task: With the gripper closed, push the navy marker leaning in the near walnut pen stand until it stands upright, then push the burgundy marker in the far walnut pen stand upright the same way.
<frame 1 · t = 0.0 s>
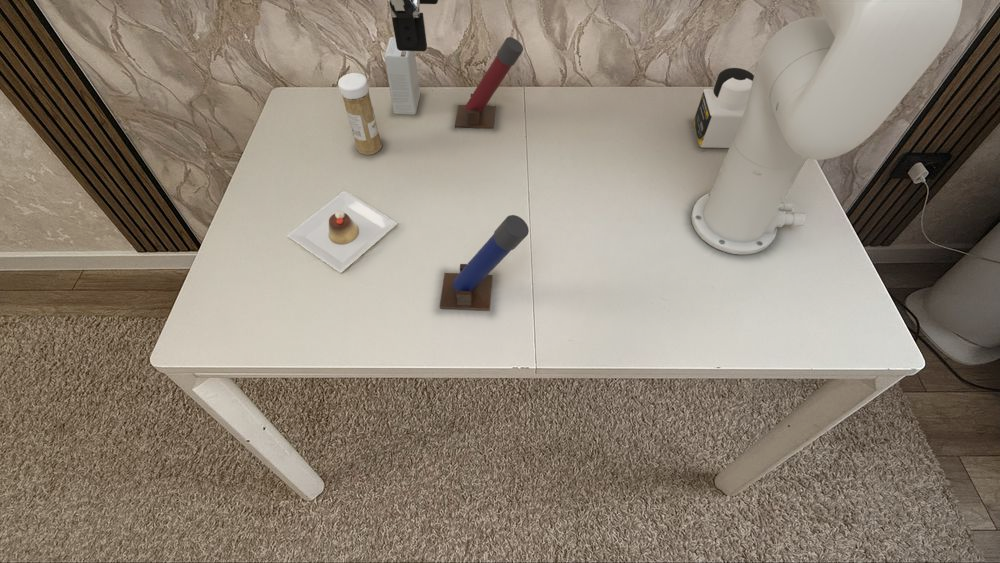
hand: (418, 25, 63), 31 cm above the table, tool pointing down, fingers open, 9 cm apart
stand far: (475, 117, 102), on the table
marker: (487, 258, 73), point 8 cm above the table, hinge at -30.0°
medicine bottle: (715, 136, 99), on the table
cosmetic box: (408, 106, 105), on the table
sprinkles bottle: (369, 148, 98), on the table
dessert: (344, 234, 86), on the table
stand near: (466, 292, 79), on the table
marker far: (492, 79, 96), point 8 cm above the table, hinge at -30.0°
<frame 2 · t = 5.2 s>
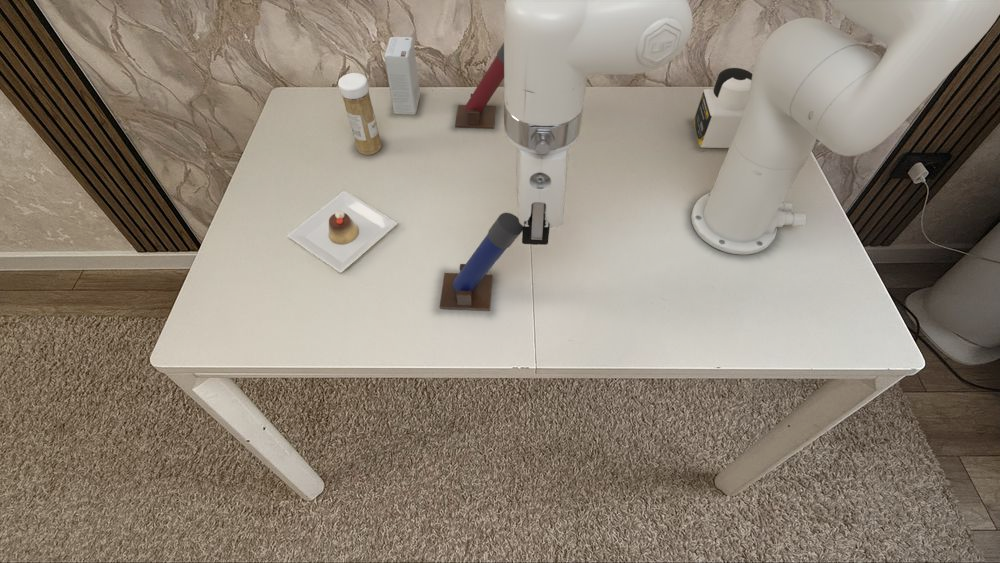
hand: (535, 239, 69), 12 cm above the table, tool pointing down, fingers closed
marker: (485, 257, 73), point 8 cm above the table, hinge at -26.3°, touching gripper
everything else where it was.
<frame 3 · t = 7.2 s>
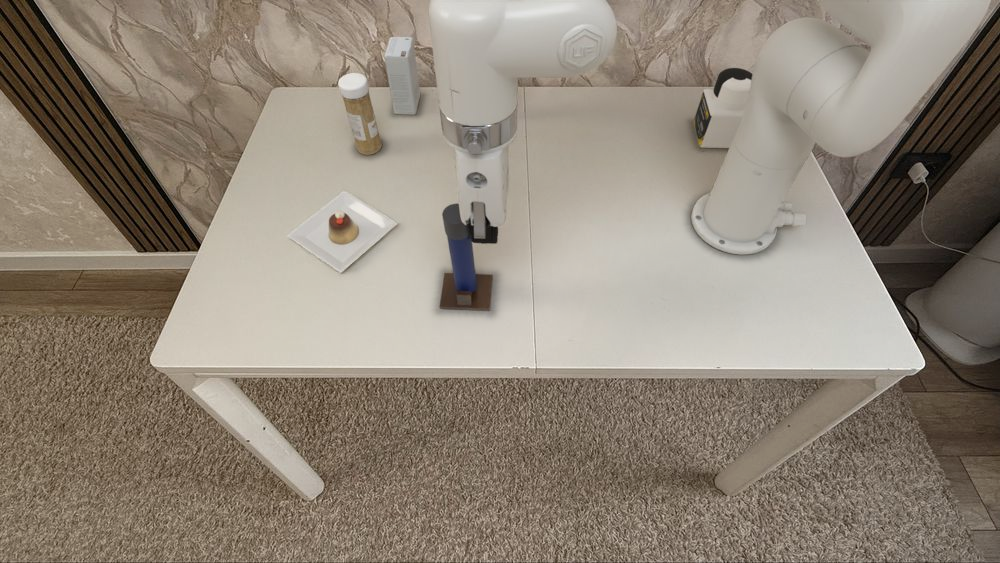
hand: (485, 238, 69), 12 cm above the table, tool pointing down, fingers closed
marker: (461, 252, 72), point 9 cm above the table, hinge at 1.2°
everything else where it was.
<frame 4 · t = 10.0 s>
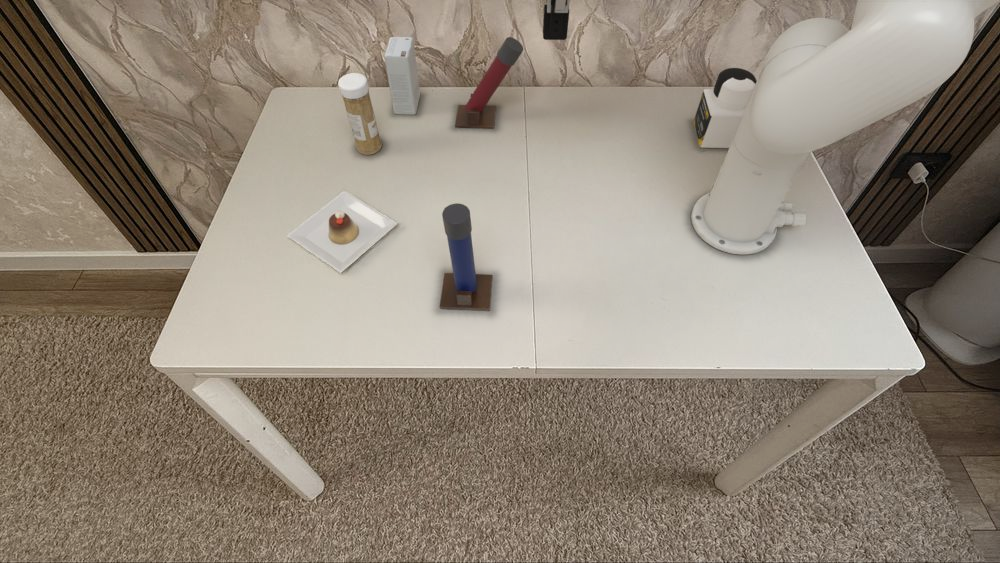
hand: (554, 36, 76), 23 cm above the table, tool pointing down, fingers closed
nothing on the table moved.
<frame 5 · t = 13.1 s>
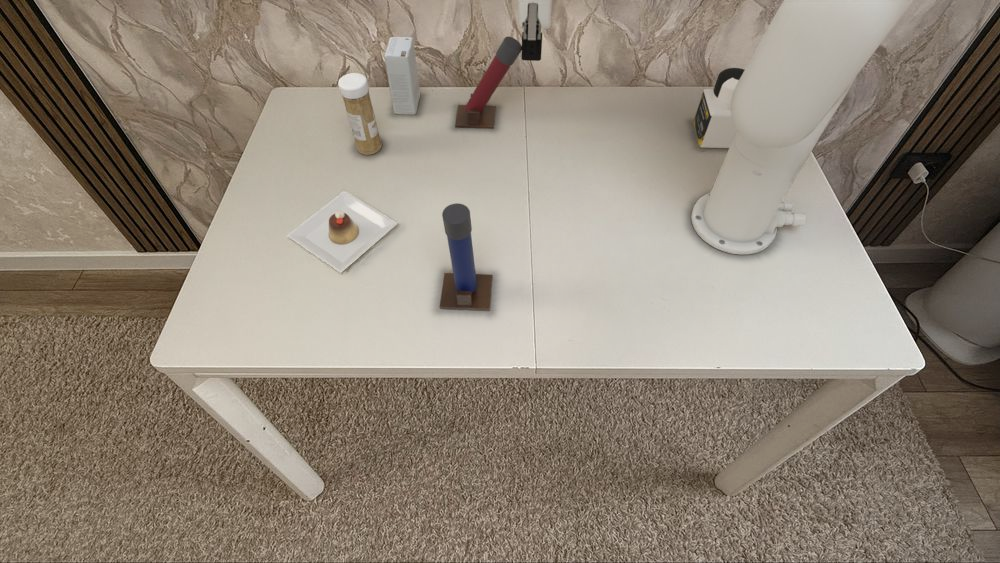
hand: (531, 57, 92), 12 cm above the table, tool pointing down, fingers closed
marker far: (491, 78, 95), point 8 cm above the table, hinge at -28.9°, touching gripper
everything else where it was.
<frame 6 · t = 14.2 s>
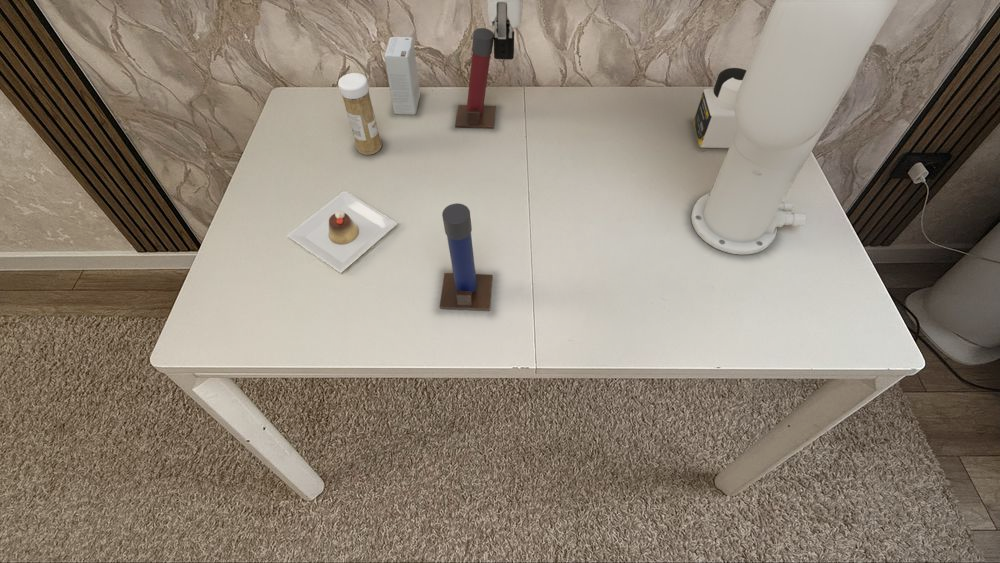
hand: (504, 56, 92), 12 cm above the table, tool pointing down, fingers closed
marker far: (479, 74, 95), point 9 cm above the table, hinge at -8.4°, touching gripper
everything else where it was.
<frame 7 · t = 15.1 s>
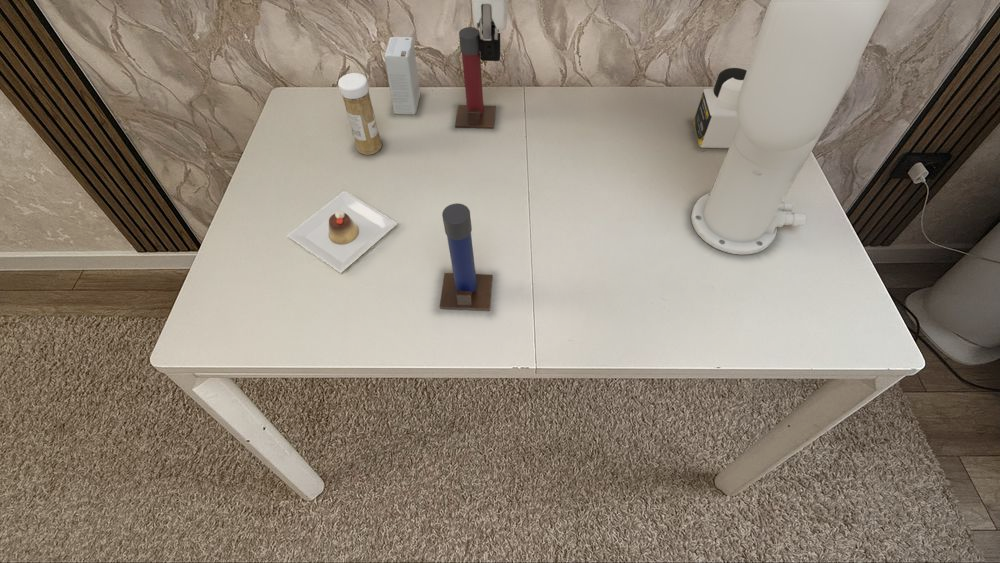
hand: (490, 57, 92), 12 cm above the table, tool pointing down, fingers closed
marker far: (472, 74, 95), point 9 cm above the table, hinge at 1.2°
everything else where it was.
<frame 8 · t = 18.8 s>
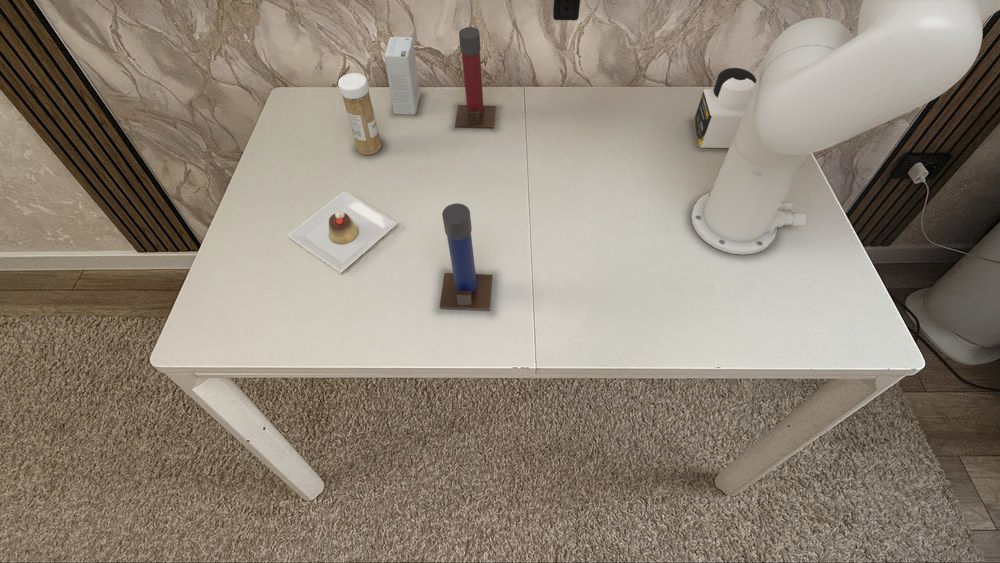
hand: (565, 16, 72), 27 cm above the table, tool pointing down, fingers closed
nothing on the table moved.
at the end: marker at +1° (first picture: -30°); marker far at +1° (first picture: -30°) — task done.
